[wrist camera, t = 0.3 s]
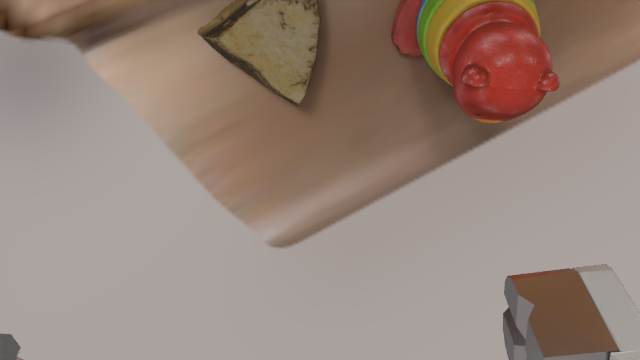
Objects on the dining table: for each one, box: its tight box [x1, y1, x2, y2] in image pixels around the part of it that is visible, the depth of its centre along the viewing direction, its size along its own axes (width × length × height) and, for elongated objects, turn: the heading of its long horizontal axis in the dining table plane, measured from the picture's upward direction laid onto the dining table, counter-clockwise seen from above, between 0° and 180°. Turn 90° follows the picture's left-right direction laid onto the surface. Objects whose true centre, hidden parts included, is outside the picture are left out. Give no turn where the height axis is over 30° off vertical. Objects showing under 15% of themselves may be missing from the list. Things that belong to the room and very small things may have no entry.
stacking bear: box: [392, 0, 560, 123], centre depth 46 cm, size 11×10×18 cm
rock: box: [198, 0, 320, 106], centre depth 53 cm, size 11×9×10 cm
